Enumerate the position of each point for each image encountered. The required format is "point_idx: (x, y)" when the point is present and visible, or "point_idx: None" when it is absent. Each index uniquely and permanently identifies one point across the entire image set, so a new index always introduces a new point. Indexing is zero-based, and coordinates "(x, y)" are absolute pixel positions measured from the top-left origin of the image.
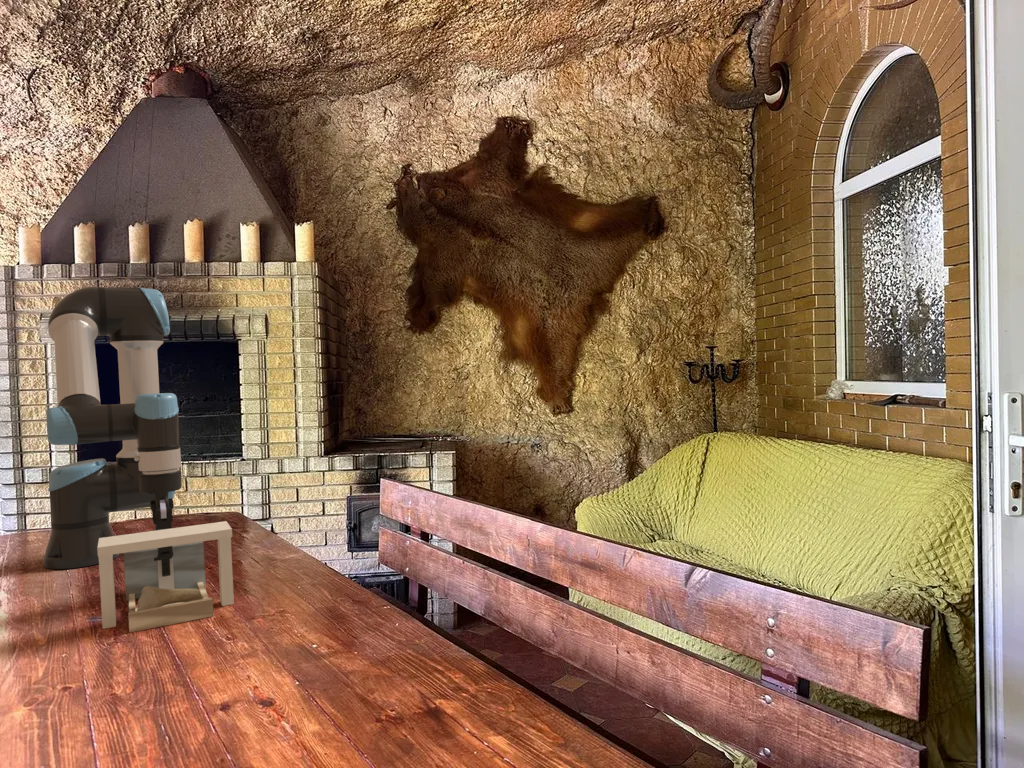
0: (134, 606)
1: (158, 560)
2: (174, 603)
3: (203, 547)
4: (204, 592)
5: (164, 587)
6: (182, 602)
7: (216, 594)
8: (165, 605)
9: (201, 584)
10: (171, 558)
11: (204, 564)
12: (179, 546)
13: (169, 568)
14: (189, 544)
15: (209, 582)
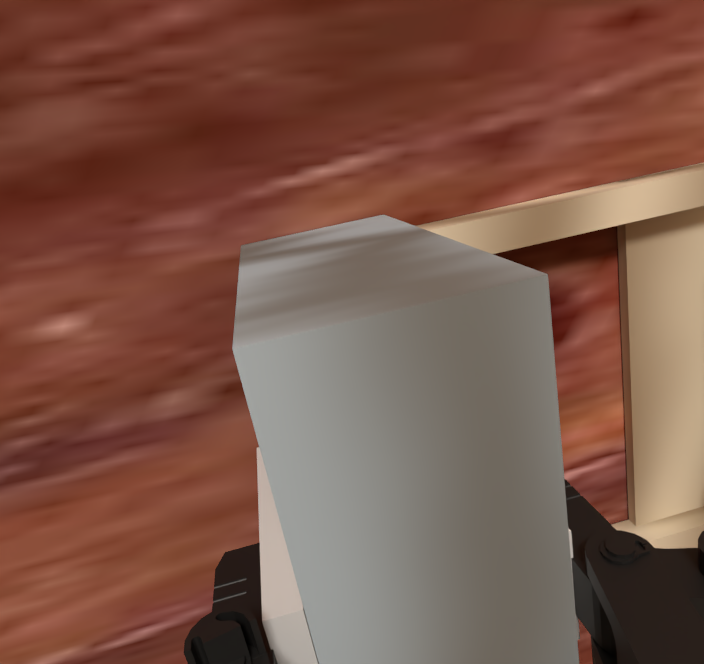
0: (698, 529)
1: (576, 628)
2: (676, 348)
3: (514, 264)
4: (667, 191)
5: None
6: (684, 307)
7: (586, 120)
8: (685, 389)
9: (464, 236)
10: (569, 539)
11: (437, 234)
12: (567, 552)
13: (579, 497)
14: (544, 453)
15: (262, 201)
